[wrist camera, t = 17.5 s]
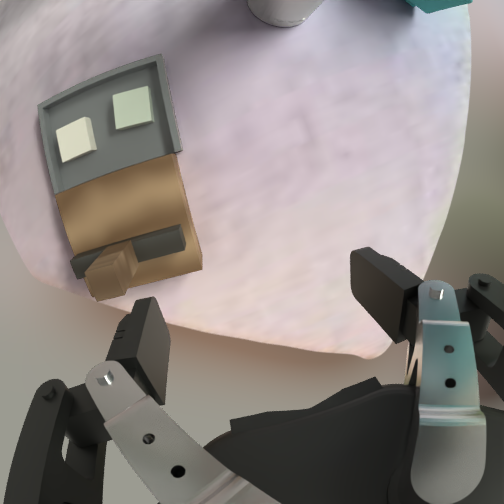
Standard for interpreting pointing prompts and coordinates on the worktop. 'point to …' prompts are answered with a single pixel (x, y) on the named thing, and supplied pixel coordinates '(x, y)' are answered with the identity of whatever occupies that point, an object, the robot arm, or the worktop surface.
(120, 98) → the tile
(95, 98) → the bin
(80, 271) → the scraper
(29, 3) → the worktop surface
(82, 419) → the robot arm
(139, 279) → the board
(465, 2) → the radio
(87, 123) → the tile
